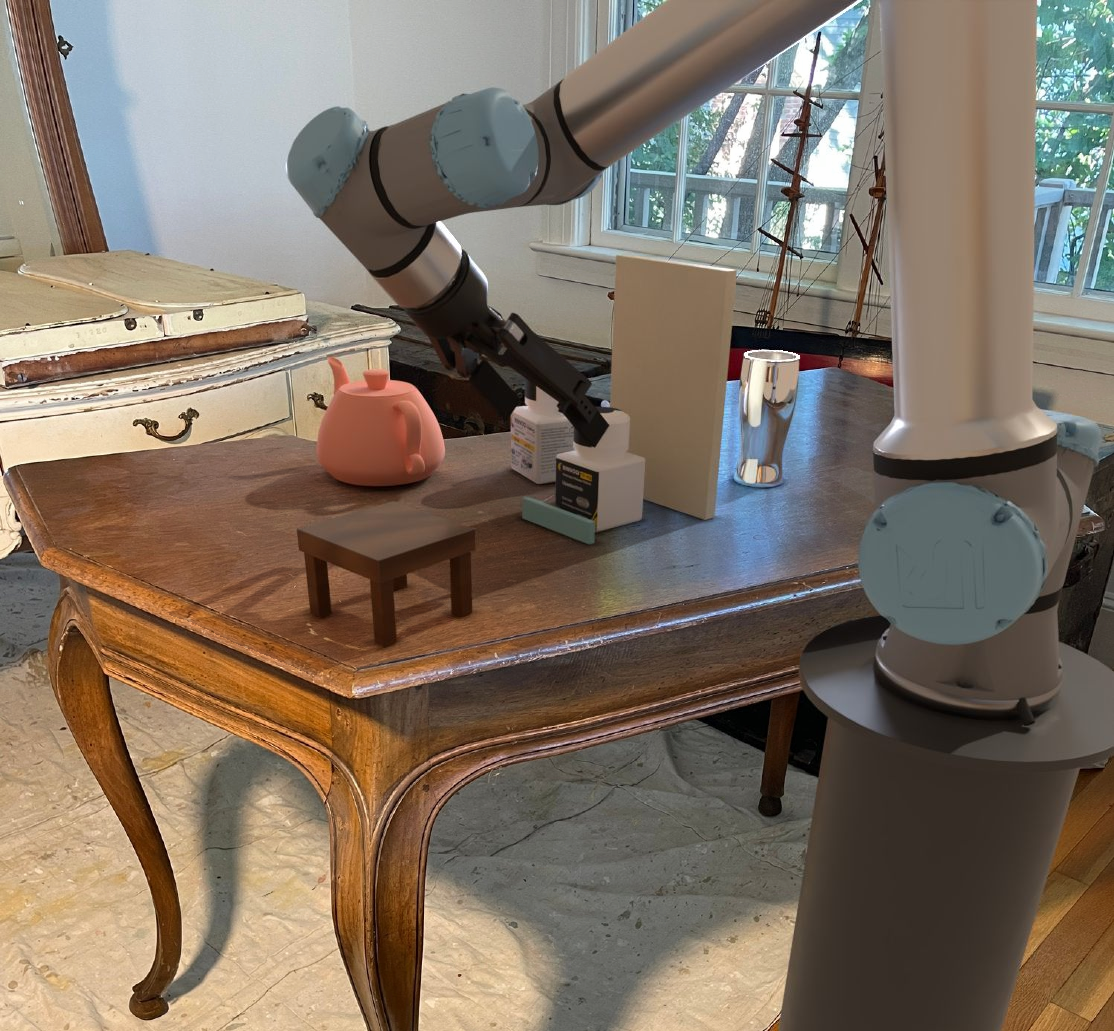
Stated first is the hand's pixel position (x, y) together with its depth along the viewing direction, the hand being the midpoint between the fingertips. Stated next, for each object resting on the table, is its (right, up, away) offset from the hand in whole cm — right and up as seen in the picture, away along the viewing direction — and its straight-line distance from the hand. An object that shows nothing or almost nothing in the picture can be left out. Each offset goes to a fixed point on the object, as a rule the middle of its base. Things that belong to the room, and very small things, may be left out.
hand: (554, 422), depth 114 cm
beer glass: (+25, -1, +23) cm, 35 cm away
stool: (-15, -21, -14) cm, 30 cm away
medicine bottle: (+5, -8, +10) cm, 14 cm away
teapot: (-22, +1, +24) cm, 33 cm away
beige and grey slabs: (+6, -7, +11) cm, 15 cm away
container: (0, +1, +25) cm, 25 cm away
